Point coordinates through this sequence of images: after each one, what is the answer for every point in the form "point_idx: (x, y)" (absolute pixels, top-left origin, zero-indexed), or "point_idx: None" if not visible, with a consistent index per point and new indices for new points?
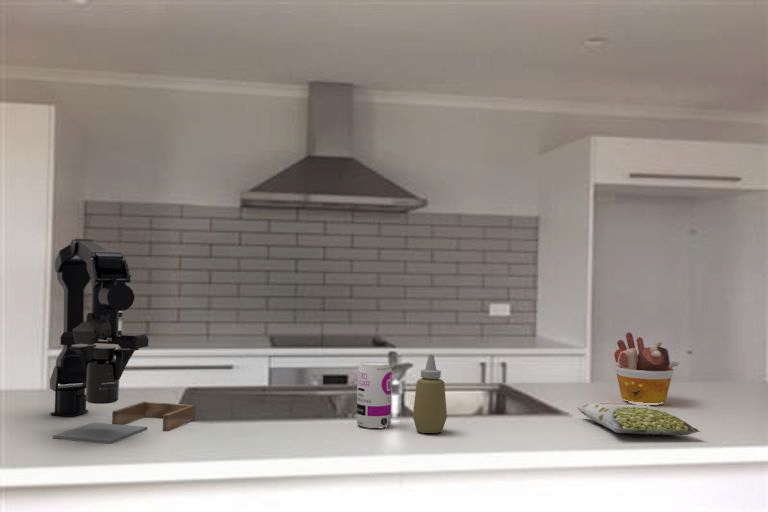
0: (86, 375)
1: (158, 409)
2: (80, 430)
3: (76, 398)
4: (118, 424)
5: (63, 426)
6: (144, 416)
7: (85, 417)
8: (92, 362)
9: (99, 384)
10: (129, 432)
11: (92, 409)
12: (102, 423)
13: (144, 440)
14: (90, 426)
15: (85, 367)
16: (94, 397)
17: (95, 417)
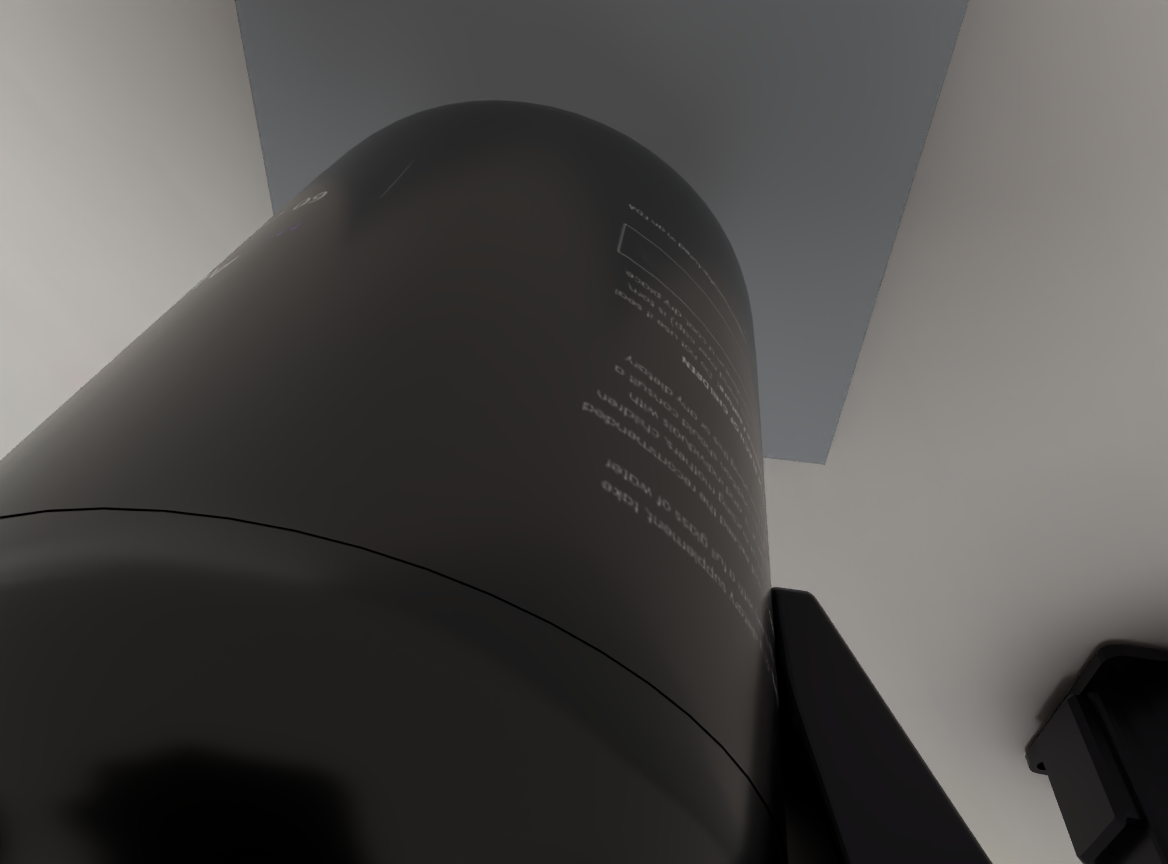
0: (825, 623)
1: None
2: (799, 147)
3: (1144, 801)
4: None
5: (1083, 367)
6: None
7: (992, 644)
8: (312, 789)
9: (286, 233)
10: (288, 177)
11: (1024, 812)
12: None
13: (28, 2)
14: (777, 326)
15: (877, 798)
16: (468, 117)
17: (912, 651)
